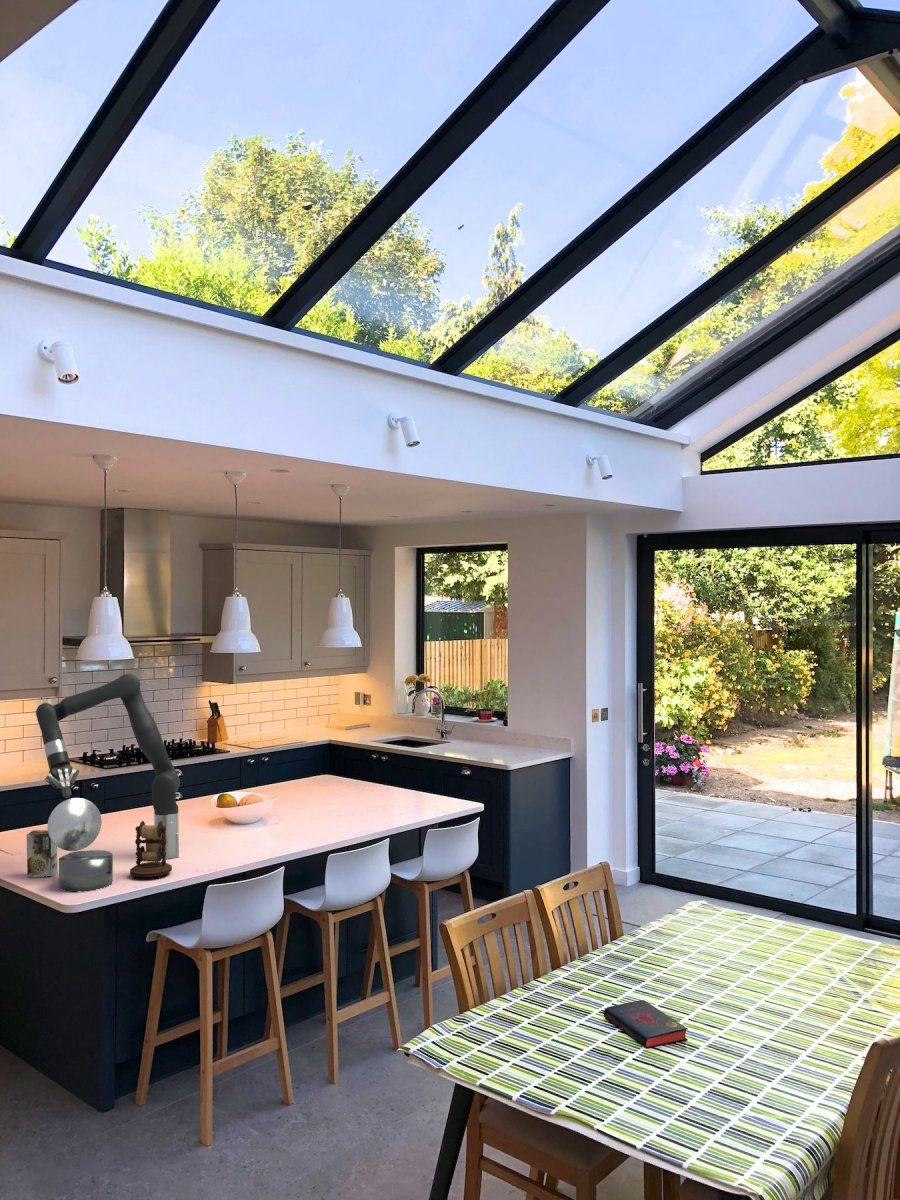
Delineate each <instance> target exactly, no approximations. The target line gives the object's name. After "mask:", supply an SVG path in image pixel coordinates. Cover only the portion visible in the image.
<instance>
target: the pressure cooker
mask: <svg viewBox="0 0 900 1200" xmlns="http://www.w3.org/2000/svg"><path fill="white" fill-rule="evenodd" d="M113 855H114V854H113V852H111V851H107V850H100V849H97V850H95V849H94V850H78V851H70V852H69V853H67V854H64V855H61V856H60V857H59V858H58V889H59V888H60V889H62V890H65V891H64V892H66V891H87V892H90V891H89V890H94V891H97V890H96V889H99V890H101V889H100V888H102V889H105V888H108V887H109V885H110V886H111V885H113V883H114V882H113V881H114V875H113V874H114V872H113V871H114V863H113V862H114V861H113V860H114V856H113ZM112 882H113V883H112ZM107 886H108V887H107ZM104 887H105V888H104ZM60 889H59V890H60ZM62 890H61V891H62Z"/></svg>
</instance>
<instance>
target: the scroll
mask: <svg viewBox="0 0 900 1200" xmlns="http://www.w3.org/2000/svg"><path fill="white" fill-rule="evenodd" d="M135 831H136V832H135V833H136V835H135V837H136V839H135V845H136V849H135V850H136V852H135V856H136V861H135V863H136V865H134V866H133V867H131V868H130V869H129V874H130V875H131V876H132V879H133V878H135V879H136V877H141V878H142V877H143V878H149V877H150V878H151V877H157V878H158V879H159V880H160V879H161V877H162V876H163V875H166V874H168V873H170V872H172V870H173V866H172V865H171V864H170V863H168V862H167V861H166V860H167V859H165V858H166V857H165V856H166V852H165V850H166V848H165V845H166V842H167V840H166V839H165V838H166V835H165V833H166V832H165V831H166V827H165V826H163V823H162V821H159V823H158V825H154V824H150V825H149V824H148V825H147V824H146V823H145V821H144V820H141V822H140V823H139V825H138V826H137V825H136V827H135ZM161 835H162V839H161ZM141 844H145V846H144V845H141ZM162 856H163V857H162ZM162 858H163V859H162Z"/></svg>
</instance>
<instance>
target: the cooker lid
mask: <svg viewBox="0 0 900 1200" xmlns="http://www.w3.org/2000/svg"><path fill="white" fill-rule="evenodd" d="M101 829H102V814H101V812H100V810H99V808H98V807H97V805H96V804H95V803H93V802H92V801H90V800H88V799H86V798H82V797H81V798H80V797H72V798H67V799H65V800H63V801H62V802H60V803H59V804H58V805H57V806H55V807H54V808H53V810H52V811H51V812H50V815H49V816H48V821H47V829H46V830H48V834H49V837H50V839H51V841H52V842H53V843H54V844H55V845H56V846H57V848H59V849H61V850H64V851H67V852H77V851H83V850H84V849H86V848H88V847H89V846H90V845H92V844H93V843H94V842H95V841H96V839H97V838H98V837H99V834H100V832H101Z"/></svg>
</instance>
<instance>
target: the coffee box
mask: <svg viewBox="0 0 900 1200" xmlns="http://www.w3.org/2000/svg"><path fill="white" fill-rule="evenodd" d="M26 858H27V859H26V869H27V873H26V874H27V875H26V876H27V877H32V878H48V877H47V876H52V877H53V876H55V875H56V874H58V847H57V846H56V845H55V844H54V843H53V842H52V841H51V839H50V837H49V834H48V829H46V830H45V829H41V830H40V829H39V830H37V829H36V830H32V831H30V832H29V833H27V834H26ZM44 876H46V877H44ZM27 877H26V878H27Z"/></svg>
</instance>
